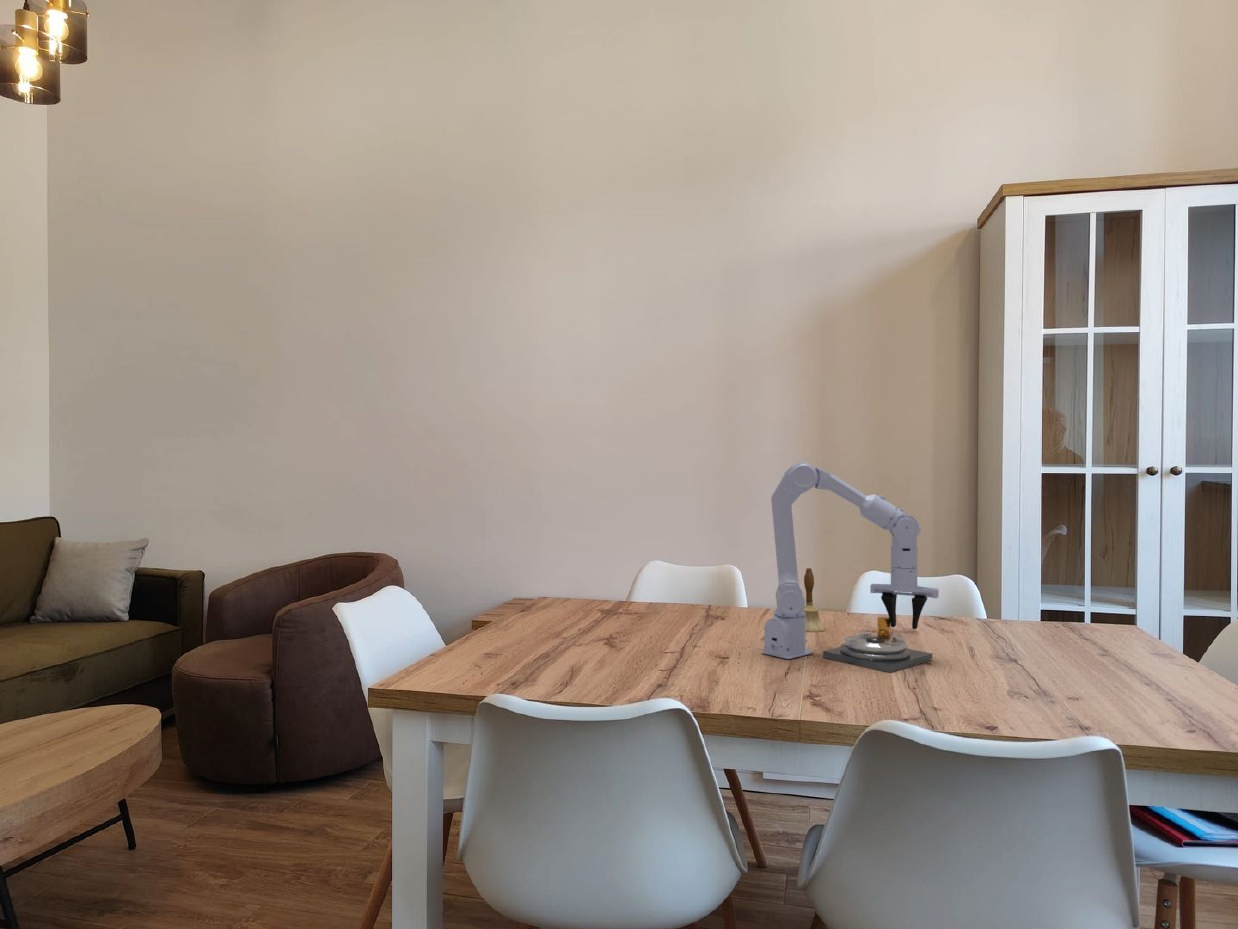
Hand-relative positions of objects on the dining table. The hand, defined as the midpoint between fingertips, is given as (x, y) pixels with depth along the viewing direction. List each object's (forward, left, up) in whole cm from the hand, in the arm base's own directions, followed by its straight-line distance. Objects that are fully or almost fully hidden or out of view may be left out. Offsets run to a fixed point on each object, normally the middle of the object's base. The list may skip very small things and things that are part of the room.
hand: (903, 627), depth 191 cm
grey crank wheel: (-6, +3, -4) cm, 8 cm away
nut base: (-6, +3, -7) cm, 10 cm away
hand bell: (+10, +33, -7) cm, 35 cm away
